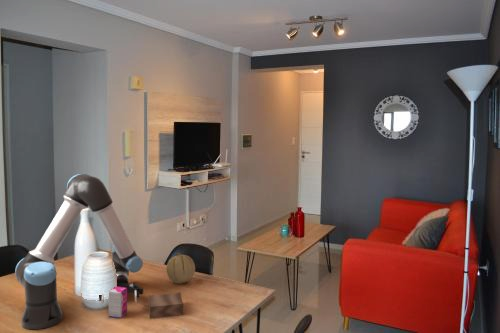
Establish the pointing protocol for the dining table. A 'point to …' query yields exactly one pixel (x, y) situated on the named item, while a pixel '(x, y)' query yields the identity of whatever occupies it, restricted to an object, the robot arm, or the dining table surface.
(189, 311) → the dining table surface
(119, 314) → the supplement box
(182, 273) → the cantaloupe
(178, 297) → the walnut block
